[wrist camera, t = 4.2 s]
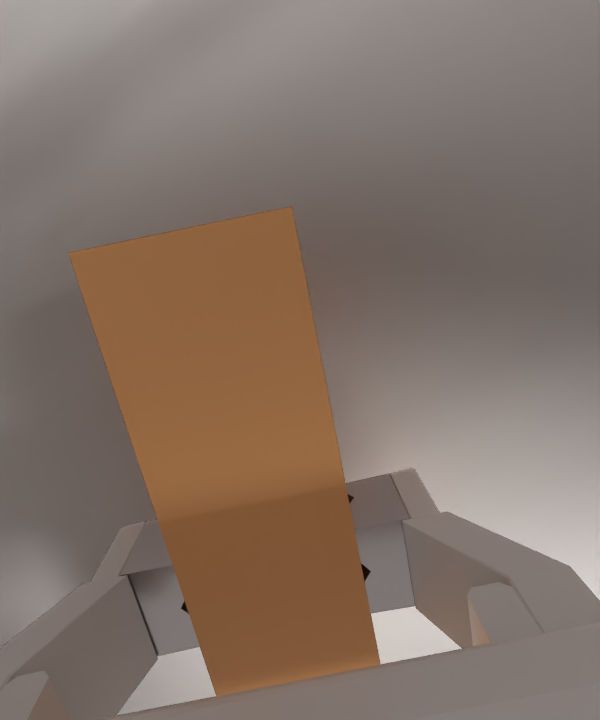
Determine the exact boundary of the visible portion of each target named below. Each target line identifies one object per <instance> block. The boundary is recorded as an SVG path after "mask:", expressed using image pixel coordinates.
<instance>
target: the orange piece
mask: <svg viewBox="0 0 600 720" xmlns="http://www.w3.org/2000/svg"><path fill="white" fill-rule="evenodd" d="M68 254H69V257H70V260H71V263H72V266H73V269H74V272H75V275H76V278H77V281H78V284H79V287H80V290H81V293H82V296H83V299H84V302H85V305H86V308H87V311H88V314H89V317H90V320H91V323H92V326H93V329H94V332H95V335H96V338H97V341H98V344H99V347H100V350H101V353H102V356H103V359H104V362H105V365H106V368H107V371H108V374H109V377H110V380H111V383H112V386H113V389H114V392H115V395H116V398H117V401H118V404H119V407H120V409H121V412H122V415H123V418H124V421H125V424H126V427H127V430H128V433H129V436H130V439H131V442H132V445H133V448H134V451H135V454H136V457H137V460H138V463H139V466H140V469H141V472H142V475H143V478H144V481H145V484H146V487H147V490H148V493H149V496H150V499H151V502H152V505H153V508H154V511H155V514H156V517H157V520H158V523H159V526H160V529H161V532H162V535H163V538H164V541H165V544H166V547H167V550H168V553H169V556H170V559H171V562H172V565H173V568H174V571H175V574H176V577H177V580H178V583H179V586H180V589H181V592H182V595H183V598H184V601H185V604H186V607H187V610H188V613H189V616H190V619H191V622H192V625H193V628H194V631H195V634H196V637H197V640H198V643H199V645H200V648H201V651H202V654H203V657H204V660H205V663H206V666H207V669H208V672H209V675H210V678H211V681H212V684H213V687H214V690H215V693H216V696H221V695H226V694H231V693H236V692H241V691H247V690H252V689H257V688H262V687H267V686H272V685H277V684H282V683H288V682H293V681H298V680H303V679H308V678H313V677H318V676H324V675H329V674H334V673H339V672H344V671H350V670H355V669H360V668H365V667H370V666H375V665H381V664H380V659H379V654H378V649H377V644H376V639H375V633H374V628H373V623H372V618H371V613H370V608H369V602H368V597H367V592H366V587H365V582H364V577H363V571H362V566H361V561H360V556H359V551H358V546H357V540H356V535H355V530H354V525H353V520H352V515H351V509H350V504H349V499H348V494H347V489H346V484H345V478H344V473H343V468H342V463H341V458H340V453H339V447H338V442H337V437H336V432H335V427H334V422H333V416H332V411H331V406H330V401H329V396H328V391H327V385H326V380H325V375H324V370H323V365H322V360H321V354H320V349H319V344H318V339H317V334H316V329H315V323H314V318H313V313H312V308H311V303H310V298H309V292H308V287H307V282H306V277H305V272H304V267H303V261H302V256H301V251H300V246H299V241H298V236H297V230H296V225H295V220H294V215H293V210H292V206H291V207H286V208H281V209H276V210H272V211H267V212H262V213H257V214H252V215H247V216H243V217H238V218H233V219H228V220H223V221H219V222H214V223H209V224H204V225H199V226H195V227H190V228H185V229H180V230H175V231H171V232H166V233H161V234H156V235H151V236H147V237H142V238H137V239H132V240H127V241H122V242H118V243H113V244H108V245H103V246H98V247H94V248H89V249H84V250H79V251H74V252H70V253H68Z"/></svg>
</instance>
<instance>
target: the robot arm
mask: <svg viewBox="0 0 600 720" xmlns="http://www.w3.org/2000/svg"><path fill="white" fill-rule="evenodd" d="M345 484H346V489H347V494H348V499H349V504H350V509H351V515H352V520H353V525H354V530H355V535H356V540H357V546H358V551H359V556H360V561H361V566H362V571H363V577H364V582H365V587H366V592H367V597H368V602H369V608H370V613H376V612H382V611H388V610H394V609H400V608H406V607H412V606H416V609H418V610H419V611H420V612H421V613H422V614H423V615H424V616H426V617H427V618H428V619H429V620H430V621H431V622H432V623H434V624H435V625H436V626H437V627H438V628H439V629H440V630H442V631H443V632H444V633H445V634H446V635H447V636H448V637H450V638H451V639H452V640H453V641H454V642H455V643H456V644H458V645H459V646H460V647H461V648H462V649H459V650H453V651H448V652H443V653H438V654H433V655H427V656H422V657H417V658H412V659H407V660H401V661H396V662H391V663H386V664H381V665H375V666H370V667H365V668H360V669H355V670H350V671H344V672H339V673H334V674H329V675H324V676H318V677H313V678H308V679H303V680H298V681H293V682H288V683H282V684H277V685H272V686H267V687H262V688H257V689H252V690H247V691H241V692H236V693H231V694H226V695H221V696H216V697H211V698H205V699H200V700H195V701H190V702H185V703H180V704H174V705H169V706H164V707H159V708H154V709H148V710H143V711H138V712H133V713H128V714H122V715H117V716H116V714H117V713H118V712H119V710H120V709H121V708H122V706H123V705H124V704H125V702H126V701H127V700H128V698H129V697H130V696H131V694H132V693H133V692H134V690H135V689H136V688H137V686H138V685H139V683H140V682H141V681H142V679H143V678H144V677H145V675H146V674H147V673H148V671H149V670H150V669H151V667H152V666H153V665H154V663H155V662H156V661H157V659H158V658H157V656H161V655H165V654H170V653H174V652H178V651H183V650H187V649H192V648H196V647H200V645H199V643H198V640H197V637H196V634H195V631H194V628H193V625H192V622H191V619H190V616H189V613H188V610H187V607H186V604H185V601H184V598H183V595H182V592H181V589H180V586H179V583H178V580H177V577H176V574H175V571H174V568H173V565H172V562H171V559H170V556H169V553H168V550H167V547H166V544H165V541H164V538H163V535H162V532H161V529H160V526H159V523H158V520H157V519H156V520H151V521H148V522H147V521H144V522H139V523H135V524H130V525H126V526H123V527H121V528H120V529H119V531H118V533H117V535H116V537H115V538H114V540H113V542H112V544H111V546H110V548H109V549H108V551H107V553H106V555H105V557H104V558H103V560H102V562H101V564H100V566H99V568H98V569H97V571H96V573H95V575H94V577H93V579H92V580H91V582H88V583H83V584H82V585H80V586H79V587H78V588H76V589H75V590H74V591H73V592H71V593H70V594H69V595H67V596H66V597H65V598H64V599H62V600H61V601H60V602H59V603H57V604H56V605H55V606H53V607H52V608H51V609H50V610H48V611H47V612H46V613H44V614H43V615H42V616H41V617H39V618H38V619H37V620H35V621H34V622H33V623H32V624H30V625H29V626H28V627H26V628H25V629H24V630H23V631H21V632H20V633H19V634H17V635H16V636H15V637H14V638H12V639H11V640H10V641H9V642H7V643H6V644H5V645H3V646H2V647H1V648H0V720H600V600H599V599H598V598H597V597H596V596H595V595H594V594H593V592H592V591H591V590H590V589H589V588H588V587H587V585H586V584H585V583H584V582H583V581H582V580H581V579H580V577H579V576H578V575H577V574H576V573H575V572H574V570H573V569H572V568H571V567H570V566H568V565H566V564H563V563H561V562H559V561H557V560H554V559H552V558H550V557H548V556H545V555H543V554H541V553H539V552H537V551H534V550H532V549H530V548H528V547H525V546H523V545H521V544H519V543H516V542H514V541H512V540H510V539H507V538H505V537H503V536H501V535H499V534H496V533H494V532H492V531H490V530H487V529H485V528H483V527H481V526H478V525H476V524H474V523H472V522H469V521H467V520H465V519H463V518H461V517H458V516H456V515H454V514H452V513H449V512H443V513H440V512H439V510H438V508H437V507H436V505H435V503H434V501H433V500H432V498H431V496H430V495H429V493H428V491H427V489H426V488H425V486H424V484H423V482H422V481H421V479H420V477H419V475H418V474H417V472H416V470H415V469H413V468H409V469H405V470H401V471H397V472H393V473H389V474H384V475H380V476H375V477H371V478H366V479H362V480H358V481H353V482H349V483H345Z"/></svg>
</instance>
